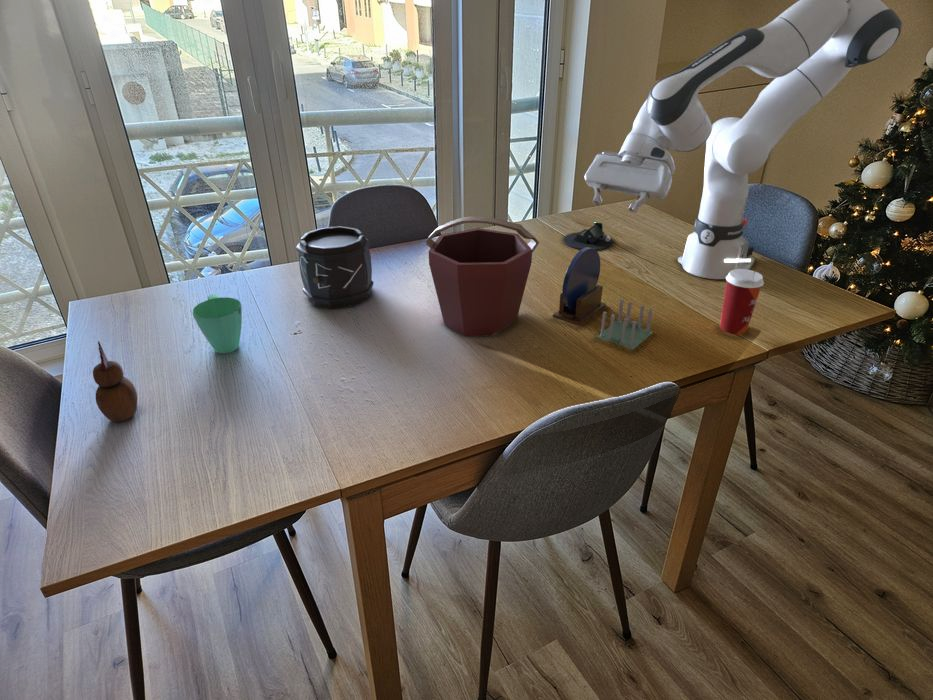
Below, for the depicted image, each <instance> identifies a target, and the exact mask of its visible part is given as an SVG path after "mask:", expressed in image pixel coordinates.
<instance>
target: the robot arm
mask: <svg viewBox="0 0 933 700" xmlns="http://www.w3.org/2000/svg"><path fill="white" fill-rule="evenodd" d="M902 28H903V22H902V19H901V18H900V16H899V15H898V14H897V12H896V11H894V9H890V8H889V7H888V6H887V5H886V4H885V2H883V1H882V0H797V1H796V2H795V3H794V4H792V5H790V6H789V7H787V9H785V10H784V11H782V12H781V13H780V14H779V15H778V16H776V17H775V18H774V19H773V20H771V21H770V22H768V23H767V24H765V25H764V26H762V27H759V28H755V27H749V28H746V29H743V30H741V31H739V32H737V33H736V34H733V35H732V36H730V37H728V38H727V39H726V40H724V41H722V42H721V43H719V44H717V46H715V47H713V48H711V50H708V51H707V52H706V53H704V54H703V55H701V56H700V57H698V58H697V59H695V60H694V61H692V62H691V63H689V64H688V65H687V66H685V67H683V68H682V69H680V70H678V71H676V72H674V73H672V74H669V75H667V76H665V77H664V78H662V79H660V80H659V81H658V82H656V83H655V84H654V85H653V87H652V88H651V89H650V91H649V93H648V96H647V98H646V99H645V101H644V102H643V104H642V106H641V107H640V109H639V111H638V112H637V115H636V117H635V119H634V121H633V123H632V128H631V131H630V132H629V133H628V134H627V135H626V138H625V139H624V142H623V144H622V145H621V147H620V149H619V152H616V151H614V152H613V151H608V150H603V152H599V153H597V154H596V155H595V157H594V159H593V161H592V162H591V164H590V165H589V167H588V169H587V170H586V172H585V174H584V180H585V183H586V184H587V186H588V187H589V188H593V191H594V196H593V199H592V204H593V205H596V206H601V204H602V202H603V201H604V200H603V198H602V196H601V195H600V194H602V193H603V191H609V192H615V193H621V194H626V195H630V196H631V195H632V196H637V197H639V198H637V200H635V201H631V202H630V205H629V206H628V210H629V212H630V213H638V210H639V208H640V207H642V206H643V205H644V204H646V203H647V202H648V200H649V199H651V200H652V199H653V200H658V201H661V200H663V199H665V198H666V197H667V196H668V194H669V191H670V189H671V186H672V183H673V174H674V172H675V170H676V166H675V161H674V159H673V156H672V154H671V153H670V152H669V151H673V152H680V153H689V152H693V151H696V150H697V149H699V148H701V147H702V146H703V145H704V144H705V157H704V169H703V187H702V195H701V199H700V204H699V211H698V216H696V218H695V221H694V227H693V232H691V233H690V234H688V235H687V239H686V243H685V247H684V250H683V255H680V256H679V257H678V258H677V262H678V263H679V264H681V266H682V269H683V270H684V271H685V272H687V273H688V274H690V275H693V276H696V277H700V278H704V279H710V280H726V276H727V275H728V274H729V272H730V271H731V270H735V269H747V270H751V268H752V267H753V265H754V263H755V258H754V257H753V256H752V255H753V253H754V249H755V247H754V246H751V245H750V242H749V241H748V240H747V239H746V237H745V236H744V235H743V234H744V230H745V229H744V228H745V227H746V226H747V224H748V218H744V215H745V212H746V211H745V210H746V207H747V202H748V198H749V192H750V191H749V175H751V174H754V173H756V172H757V171H759V170H760V169H761V168H763V166H764V165H765V164H766V162H767V160H768V158H769V155H770V153H771V152H772V150H774V148H775V147H776V146H777V144H778V143H779V142H780V141H781V139H782V138H783V137H784V136H785V134H786V133H787V132H788V131H789V130H790V128H792V127H793V126H794V125H795V124H796V123H797V122H798V121H799V120H800V119H801V118H803V117H804V115H806V114H807V113H808V112H809V111H810V110H811V109H813V108H814V106H816V105H817V104H818V103H819V102H821V101H822V100H823V99H824V98H825V97H826V96H827V95H828V94H830V92H831V91H833V89H835V88H836V86H837V85H838V84H839V83H840V82H841V81H842V80H843V79H844V78H845V77H846V76H847V75H848V73H849V72H850V71H851V70H852V69H853V68H855V67H857V66H862V65H866V64H869V63H871V62H874V61H876V60H878V59H880V58H881V57H882V56H884V55H885V54H886V53H888V51H890V50H891V48H892V47H893V46H894V45H895V44H896V43H897V41H898V39H899V37H900V35H901V31H902ZM737 67H738V68H739V67H745V68H748V69H749V70H751V71H752V72H754V73H755V74H757V75H759V76H761V77H764V78H768V79H773V80H772V81H771V82H770V83H769V84H767V85H766V86H765V87H764V88H763V89H762V90H761V91H760V92H759V94H758V96H757V98H756V100H755V101H754V103H753V104H752V106H750V108H749V109H748V110H747V112H746V113H745V114H744V115H743V116H742V118H741V117H736V116H727V117H722V118H720V119H717V120H716V121H715V122H714V123H712V122H711V121H712V120H711V118H710V117H709V114H708V113H707V111H706V108H704V106H703V104H702V103H701V101H700V99H699V97H698V95H699V92H700V91H701V90H702V89H703V88H704V87H707V86H708V85H709V84H711V83H712V82H713V81H715V80H716V79H718V78H721V76H723V75H724V74H726V73H728V72H729V71H730V70H732V69H735V68H737ZM668 150H669V151H668Z"/></svg>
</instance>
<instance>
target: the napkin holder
mask: <svg viewBox="0 0 933 700" xmlns="http://www.w3.org/2000/svg"><path fill="white" fill-rule="evenodd" d="M603 286H604V285H600V284H597V286H596V287H595V288H593V289H591V290H590V291H588V292H587V293H585V294H584V295H582V296H581V297H579V298H578V299H577V302H576V311H573V310H570V309H568V308H567V307H566V306H565V305H564V302H563V296H562V292H561V293H560V295H559V307H558V310H557V311H556V312H555V313H553V314H552V317H553V318H556V319H558V320H562V321H564V322H568V323H571V324H572V325H573V324H574V325H577V326H581V324H583V323H584V322H585V321H587V320H588V319H590V318H591V317H593V316H594V315H595V314H597V313H598V312H600V311H601V310H603V308H605V307H606V306H607V303H606V302H602V297H603V290H604V289H603V288H604V287H603Z"/></svg>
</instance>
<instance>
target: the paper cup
mask: <svg viewBox="0 0 933 700" xmlns="http://www.w3.org/2000/svg"><path fill="white" fill-rule="evenodd" d="M725 280H726V283H725V290H724V296H723V302H722V308H721V313H720V314H721V315H720V322H719V328H720V329H721V330H722V331H724V332H726V333H728V334H731V335H742V334H745V333H747V331H748V329H749V328H748V327H749V325H750V322H751V320H752V315H753V312H754V310H755V307H756V304H757V301H758V298H759V294H760V292H761V288H762V287H763V286H764V284H765V282H764V277H763V275H762V274H761V273H760V272H758V271H755V270H751V269H749V270H747V269H735V270H731V271H730V272H729V274H728V275H727V276H726V279H725Z"/></svg>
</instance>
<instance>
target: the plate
mask: <svg viewBox="0 0 933 700" xmlns="http://www.w3.org/2000/svg"><path fill="white" fill-rule="evenodd" d="M600 274H601V258H600V254H599V252H598V250H595V249H593V248H589V247H585V248H583V249H581V250H580V249H579V250H578V252H577V253H575V255H574V257H572V259H571V261H570V263H569V265H568V267H567V269H566V272H565V275H564V278H563V283H562V290H561V291H562V292H561V293H562V296H563V302H564V305H565V306H566V307H567V308H568V309H570V310H573V311H576V302H577V299H578V298H579V297H581V296H582V295H584V294H585V293H587V292H588V291H590V290H591V289H593V288H595V287H596V286H598V282H599V278H600Z"/></svg>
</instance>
